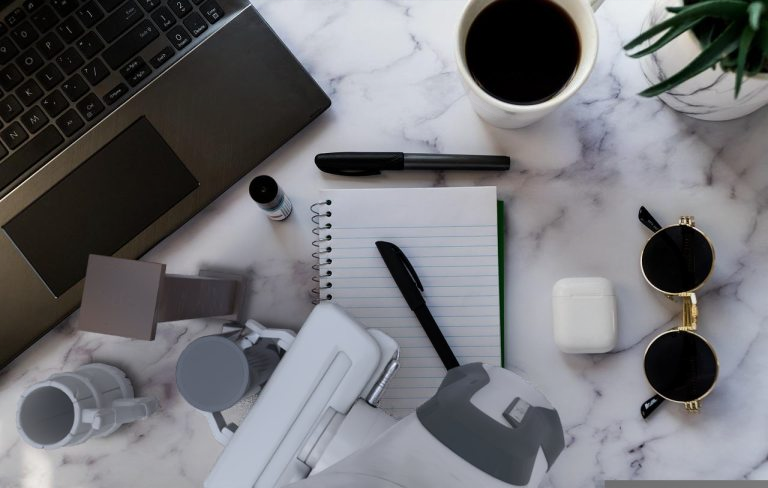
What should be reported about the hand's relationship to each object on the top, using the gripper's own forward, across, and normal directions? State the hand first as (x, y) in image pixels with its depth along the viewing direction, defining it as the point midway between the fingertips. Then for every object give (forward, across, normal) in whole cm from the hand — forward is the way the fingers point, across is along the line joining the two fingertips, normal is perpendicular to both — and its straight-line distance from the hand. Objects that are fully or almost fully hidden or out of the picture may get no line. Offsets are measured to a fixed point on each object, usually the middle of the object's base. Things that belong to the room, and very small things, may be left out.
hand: (222, 362), depth 58 cm
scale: (-1, 0, +9) cm, 9 cm away
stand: (+6, -3, +9) cm, 12 cm away
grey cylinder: (-1, 0, +6) cm, 6 cm away
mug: (+9, +12, +10) cm, 18 cm away
